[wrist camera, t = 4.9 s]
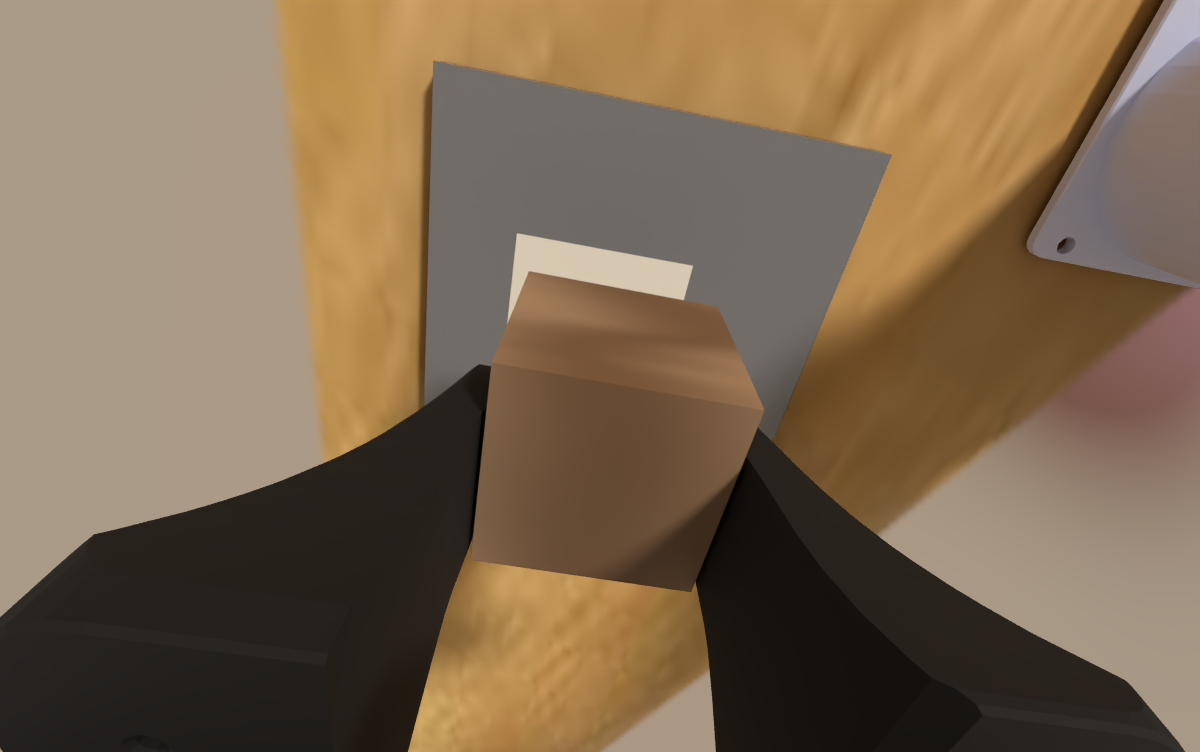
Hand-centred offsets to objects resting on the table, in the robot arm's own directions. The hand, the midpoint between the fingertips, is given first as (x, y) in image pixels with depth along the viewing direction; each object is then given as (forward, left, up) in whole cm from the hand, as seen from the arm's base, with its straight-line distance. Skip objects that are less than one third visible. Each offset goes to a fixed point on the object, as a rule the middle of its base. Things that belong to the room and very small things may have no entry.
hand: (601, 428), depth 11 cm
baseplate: (-1, +2, -9) cm, 9 cm away
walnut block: (0, 0, -2) cm, 2 cm away
